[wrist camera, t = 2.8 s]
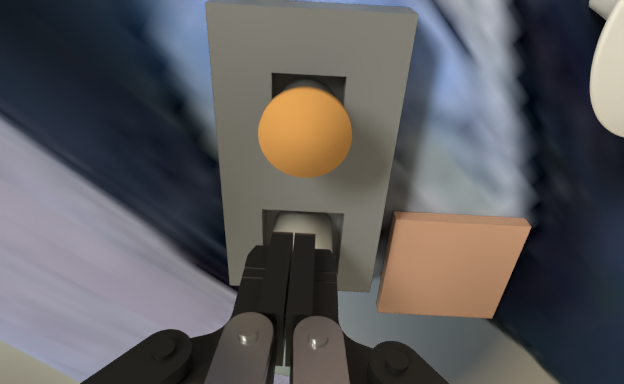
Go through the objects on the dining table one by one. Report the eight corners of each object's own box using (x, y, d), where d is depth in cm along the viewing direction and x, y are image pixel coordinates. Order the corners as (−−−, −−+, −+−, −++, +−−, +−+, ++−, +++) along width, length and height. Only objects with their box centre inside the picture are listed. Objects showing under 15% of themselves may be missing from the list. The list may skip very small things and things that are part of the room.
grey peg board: (236, 261, 36) (229, 285, 34) (217, -4, 25) (205, 2, 22) (366, 267, 36) (369, 292, 34) (409, 7, 25) (418, 14, 22)
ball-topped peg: (274, 247, 34) (253, 374, 24) (274, 201, 32) (251, 322, 22) (329, 250, 34) (332, 378, 24) (333, 204, 32) (338, 326, 22)
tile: (376, 302, 39) (377, 312, 38) (393, 211, 33) (396, 219, 32) (487, 308, 39) (492, 318, 38) (525, 218, 33) (531, 226, 32)
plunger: (267, 143, 27) (259, 175, 23) (266, 66, 24) (256, 88, 21) (344, 148, 27) (347, 179, 23) (351, 71, 24) (357, 93, 21)
